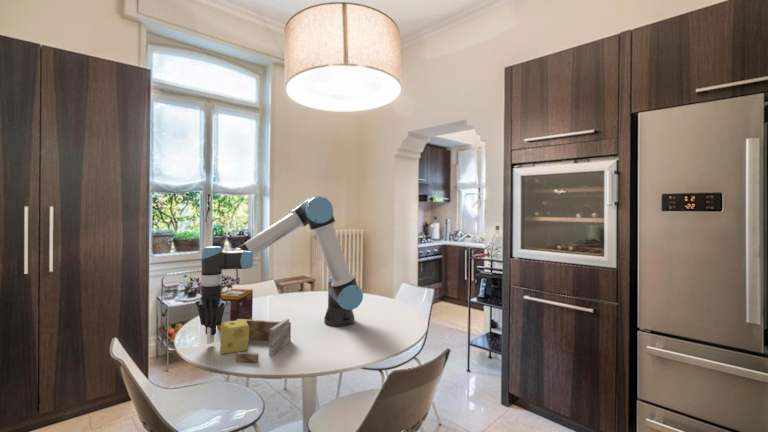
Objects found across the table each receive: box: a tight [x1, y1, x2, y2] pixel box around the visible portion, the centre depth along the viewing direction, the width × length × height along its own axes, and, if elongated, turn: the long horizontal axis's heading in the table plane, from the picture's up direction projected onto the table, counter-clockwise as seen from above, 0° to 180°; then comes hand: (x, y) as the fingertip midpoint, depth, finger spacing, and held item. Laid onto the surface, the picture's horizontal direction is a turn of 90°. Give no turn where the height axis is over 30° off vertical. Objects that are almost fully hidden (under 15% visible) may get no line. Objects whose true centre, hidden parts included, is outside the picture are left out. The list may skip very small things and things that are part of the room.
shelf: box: [235, 318, 292, 364], centre depth 142 cm, size 24×24×10 cm
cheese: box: [219, 320, 250, 355], centre depth 142 cm, size 10×11×10 cm
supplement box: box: [216, 288, 254, 329], centre depth 174 cm, size 10×15×16 cm
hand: (210, 342), depth 145 cm, fingers closed
